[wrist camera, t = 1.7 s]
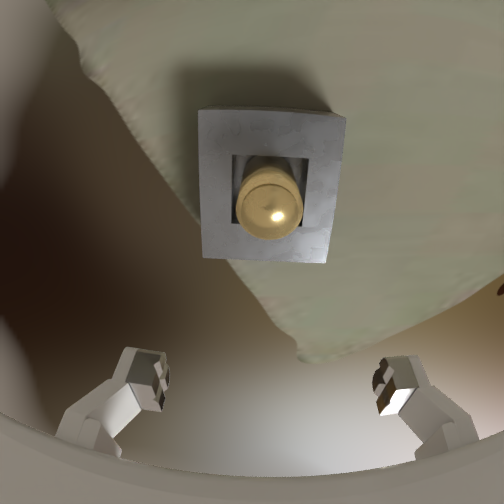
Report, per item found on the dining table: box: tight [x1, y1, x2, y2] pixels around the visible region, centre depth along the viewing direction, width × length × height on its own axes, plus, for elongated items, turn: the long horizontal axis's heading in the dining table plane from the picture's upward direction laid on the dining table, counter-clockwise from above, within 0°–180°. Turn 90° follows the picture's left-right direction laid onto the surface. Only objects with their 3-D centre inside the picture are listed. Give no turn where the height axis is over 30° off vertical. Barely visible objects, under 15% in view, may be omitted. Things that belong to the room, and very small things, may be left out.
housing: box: [198, 106, 346, 263], centre depth 28 cm, size 14×12×5 cm
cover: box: [236, 155, 303, 240], centre depth 26 cm, size 5×5×9 cm
